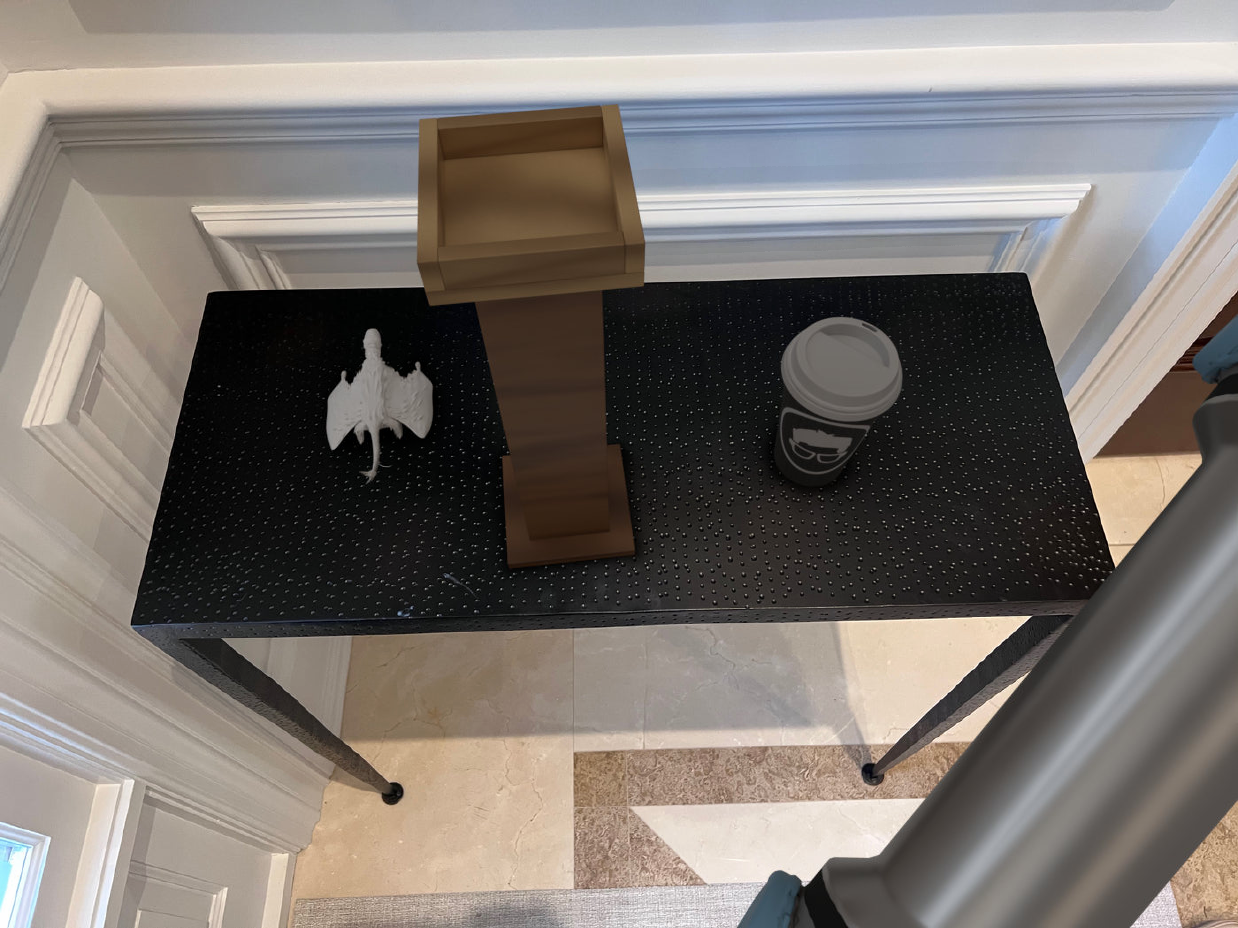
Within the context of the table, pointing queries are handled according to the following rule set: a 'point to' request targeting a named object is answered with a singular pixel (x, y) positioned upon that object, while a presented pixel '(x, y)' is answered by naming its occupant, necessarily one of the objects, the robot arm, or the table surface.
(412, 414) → the winged dragon toy
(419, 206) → the wooden tray stand
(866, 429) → the coffee cup
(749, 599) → the table surface
